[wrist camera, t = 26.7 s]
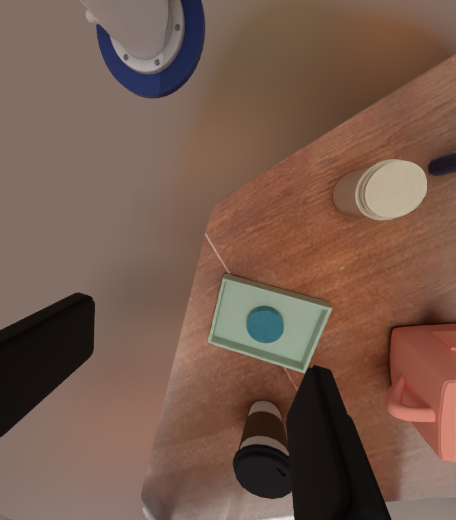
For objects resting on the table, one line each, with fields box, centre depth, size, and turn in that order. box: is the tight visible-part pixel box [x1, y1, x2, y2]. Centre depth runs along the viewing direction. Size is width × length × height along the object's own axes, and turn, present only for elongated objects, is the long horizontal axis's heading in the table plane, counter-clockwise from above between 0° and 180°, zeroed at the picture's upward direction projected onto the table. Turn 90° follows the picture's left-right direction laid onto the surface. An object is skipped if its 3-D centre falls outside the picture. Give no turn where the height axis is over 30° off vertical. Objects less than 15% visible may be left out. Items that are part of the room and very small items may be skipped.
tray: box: [208, 273, 332, 373], centre depth 40 cm, size 19×14×2 cm
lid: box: [246, 306, 284, 343], centre depth 40 cm, size 7×7×2 cm
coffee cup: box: [233, 401, 292, 499], centre depth 41 cm, size 11×11×12 cm
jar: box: [333, 159, 427, 220], centre depth 27 cm, size 7×7×11 cm
